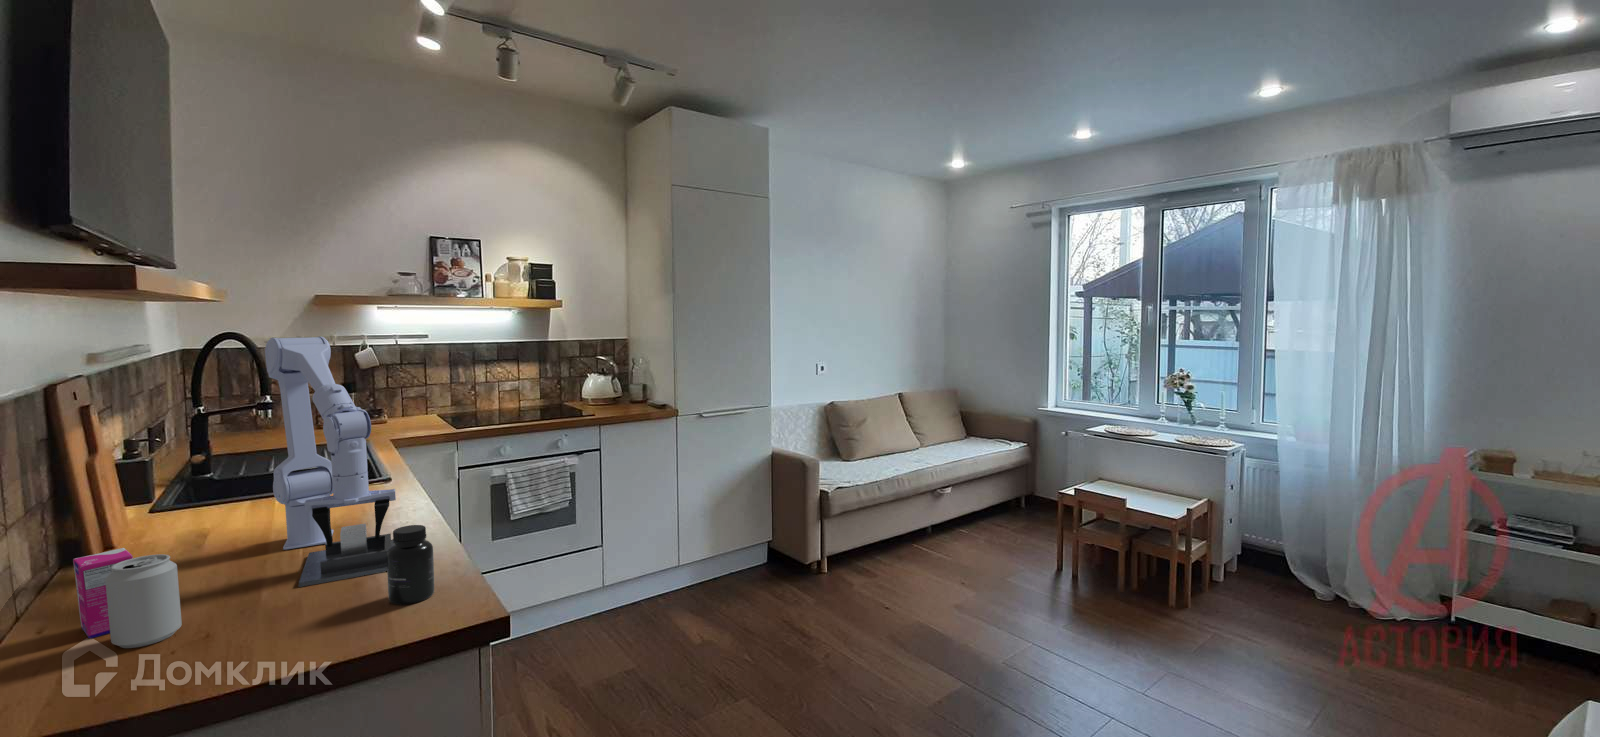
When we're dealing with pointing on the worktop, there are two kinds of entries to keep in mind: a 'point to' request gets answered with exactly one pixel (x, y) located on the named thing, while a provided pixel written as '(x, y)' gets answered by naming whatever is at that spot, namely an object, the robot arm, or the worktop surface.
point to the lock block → (353, 540)
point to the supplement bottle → (410, 566)
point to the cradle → (346, 562)
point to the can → (143, 601)
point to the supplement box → (95, 589)
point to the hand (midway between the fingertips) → (354, 541)
